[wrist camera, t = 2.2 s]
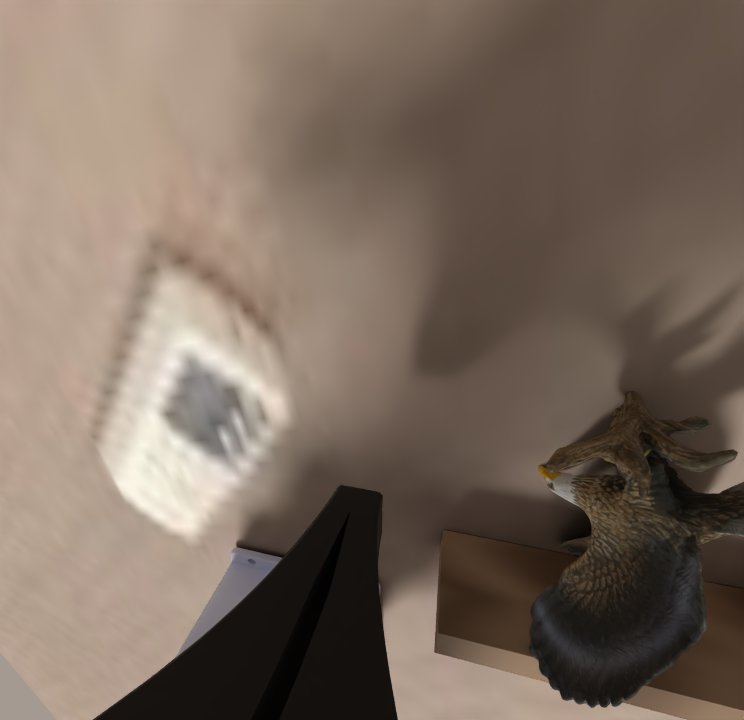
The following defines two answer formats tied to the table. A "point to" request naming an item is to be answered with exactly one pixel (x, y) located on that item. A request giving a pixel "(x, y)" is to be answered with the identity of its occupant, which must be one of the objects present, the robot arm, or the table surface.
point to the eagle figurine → (630, 559)
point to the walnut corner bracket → (513, 620)
